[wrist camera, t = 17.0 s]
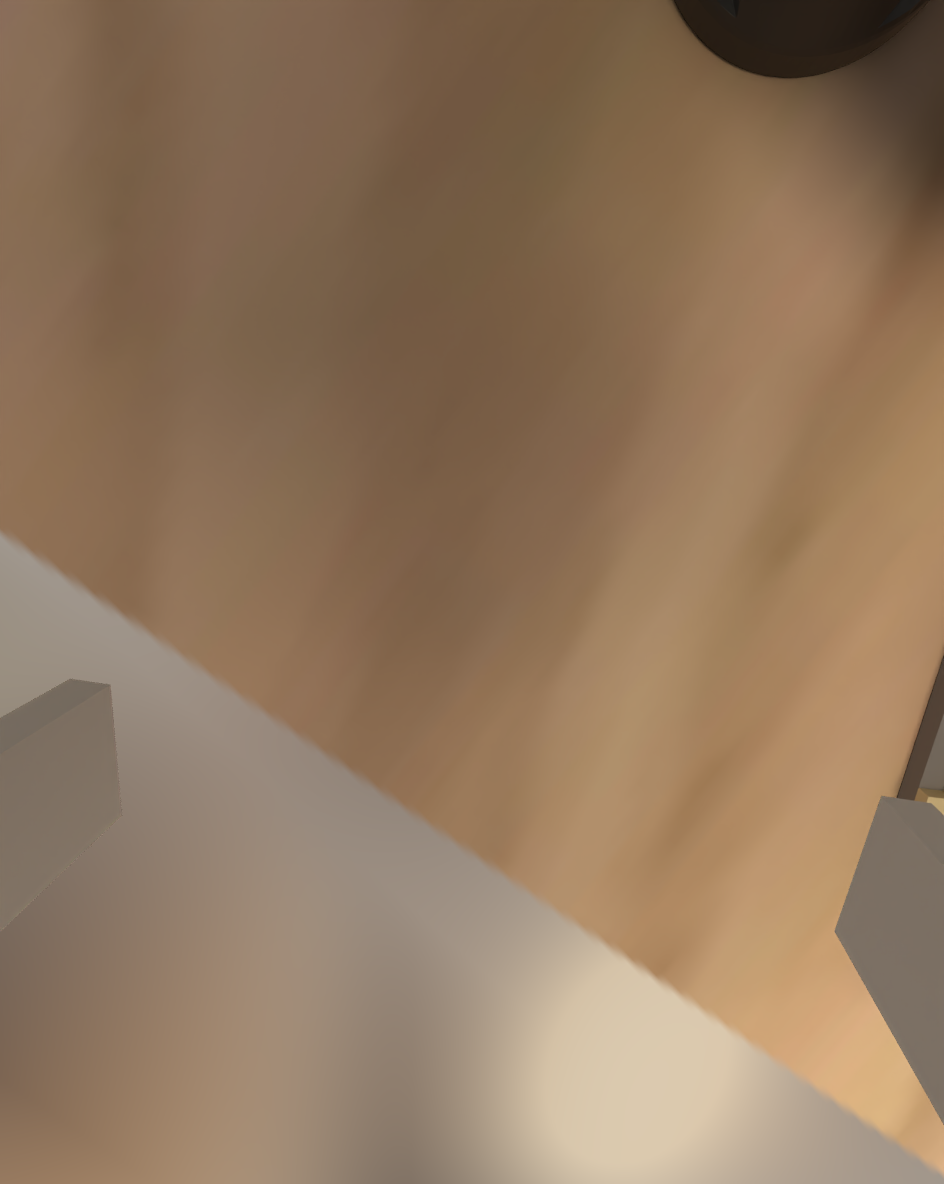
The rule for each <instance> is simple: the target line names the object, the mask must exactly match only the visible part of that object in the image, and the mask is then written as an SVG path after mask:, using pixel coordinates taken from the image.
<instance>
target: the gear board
mask: <svg viewBox="0 0 944 1184" xmlns="http://www.w3.org/2000/svg"><path fill="white" fill-rule="evenodd" d="M897 798H899V799H906V800H913V801H920V802H927V803H932V804H933V805H934V806H935V807H936V808H937V809H938V810H939V811H940V812H941V813H942V814H943V815H944V658H943V661H942V664H941V667H940V670H939V673H938V676H937V679H936V682H935V685H934V688H933V691H932V694H931V697H930V700H929V703H928V706H927V709H926V712H925V715H924V718H923V721H922V724H921V727H920V730H919V733H918V736H917V739H916V742H915V745H914V748H913V751H912V754H911V757H910V760H909V763H908V766H907V770H906V773H905V776H904V779H903V782H902V785H901V788H900V791H899V794H898V797H897Z"/></svg>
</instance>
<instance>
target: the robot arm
mask: <svg viewBox="0 0 944 1184" xmlns="http://www.w3.org/2000/svg"><path fill="white" fill-rule="evenodd" d="M675 2H676V4H677V6H678V8H679V10H680V12H681V13H682V15H683V17H684V18H685V20H686V21H687V23H688V24H689V26H690V27H691V28H692V29H693V31H694V32H695V33H696V34H697V35H698V37H699V38H700V39H701V40H702V41H703V42H704V43H705V44H706V45H707V46H708V47H709V48H711V49H712V50H713V51H714V52H716V53H717V54H718V55H719V56H721V57H723V58H724V59H726V60H727V61H729V62H731V63H733V64H735V65H737V66H739V67H741V68H743V69H746V70H748V71H752V72H755V73H758V74H763V75H768V76H775V77H803V76H810V75H816V74H820V73H825V72H828V71H831V70H835V69H838V68H840V67H843V66H845V65H848V64H850V63H852V62H854V61H856V60H858V59H860V58H862V57H863V56H865V55H867V54H869V53H870V52H872V51H873V50H875V49H876V48H878V47H879V46H881V45H882V44H884V43H885V42H886V41H888V40H889V39H890V38H891V37H893V36H894V35H895V34H896V33H897V32H898V31H900V30H901V29H902V28H903V27H904V26H905V25H906V24H907V23H908V22H909V21H910V20H911V19H912V18H913V17H914V16H915V15H916V14H917V13H918V12H919V11H920V10H921V9H922V8H923V7H924V6H925V5H926V4H927V3H928V2H929V0H675ZM110 687H111V686H110V685H109V684H102V683H95V682H88V681H81V680H74V679H69V680H67V681H65V682H64V683H62V684H60V685H58V686H56V687H55V688H53V689H51V690H49V691H48V692H46V693H44V694H42V695H41V696H39V697H37V698H35V699H33V700H31V701H30V702H28V703H26V704H25V705H23V706H21V707H19V708H17V709H15V710H14V711H12V712H10V713H9V714H7V715H5V716H3V717H1V718H0V932H1V930H3V929H4V928H5V927H6V926H7V925H8V924H9V923H10V922H11V921H12V920H13V919H14V918H15V917H16V916H17V915H18V914H19V913H20V912H22V910H24V909H25V907H27V906H28V905H29V904H30V903H31V902H32V901H33V900H34V899H35V898H36V897H37V896H38V895H39V894H40V893H41V892H42V891H44V889H46V888H47V887H48V886H49V885H50V884H51V883H52V882H53V881H54V880H55V879H56V878H57V877H58V876H59V875H60V874H61V873H62V872H63V871H64V870H65V869H67V868H68V867H69V866H70V865H71V864H72V863H73V862H74V861H75V860H76V859H77V858H78V857H79V856H80V855H81V854H82V853H83V852H84V851H85V850H86V849H87V848H88V847H89V846H91V845H92V844H93V843H94V842H95V841H96V840H97V839H98V838H99V837H100V836H101V835H102V834H103V833H104V832H105V831H106V830H107V829H108V828H109V827H110V826H111V825H113V824H114V823H115V822H116V821H117V820H118V819H119V818H120V817H121V816H122V809H121V798H120V786H119V776H118V766H117V765H118V764H117V754H116V742H115V731H114V720H113V708H112V698H111V688H110ZM835 933H836V935H837V936H838V938H839V940H840V942H841V943H842V945H843V947H844V949H845V951H846V952H847V954H848V956H849V958H850V959H851V961H852V963H853V965H854V967H855V968H856V970H857V972H858V974H859V975H860V977H861V979H862V981H863V982H864V984H865V986H866V988H867V990H868V991H869V993H870V995H871V997H872V998H873V1000H874V1002H875V1004H876V1006H877V1007H878V1009H879V1011H880V1013H881V1014H882V1016H883V1018H884V1020H885V1021H886V1023H887V1025H888V1027H889V1029H890V1030H891V1032H892V1034H893V1036H894V1037H895V1039H896V1041H897V1043H898V1045H899V1046H900V1048H901V1050H902V1052H903V1053H904V1055H905V1057H906V1059H907V1060H908V1062H909V1064H910V1066H911V1068H912V1069H913V1071H914V1073H915V1075H916V1076H917V1078H918V1080H919V1082H920V1084H921V1085H922V1087H923V1089H924V1091H925V1092H926V1094H927V1096H928V1098H929V1099H930V1101H931V1103H932V1105H933V1107H934V1108H935V1110H936V1112H937V1114H938V1115H939V1117H940V1119H941V1121H942V1123H943V1124H944V815H943V814H942V813H941V812H940V811H939V810H938V809H937V808H936V807H935V806H934V805H933V804H932V803H927V802H920V801H913V800H906V799H899V798H892V797H885V796H881V799H880V802H879V804H878V807H877V810H876V813H875V816H874V819H873V822H872V825H871V827H870V830H869V833H868V836H867V839H866V842H865V845H864V848H863V851H862V853H861V856H860V859H859V862H858V865H857V868H856V871H855V874H854V877H853V879H852V882H851V885H850V888H849V891H848V894H847V897H846V900H845V903H844V905H843V908H842V911H841V914H840V917H839V920H838V923H837V926H836V928H835Z"/></svg>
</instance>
